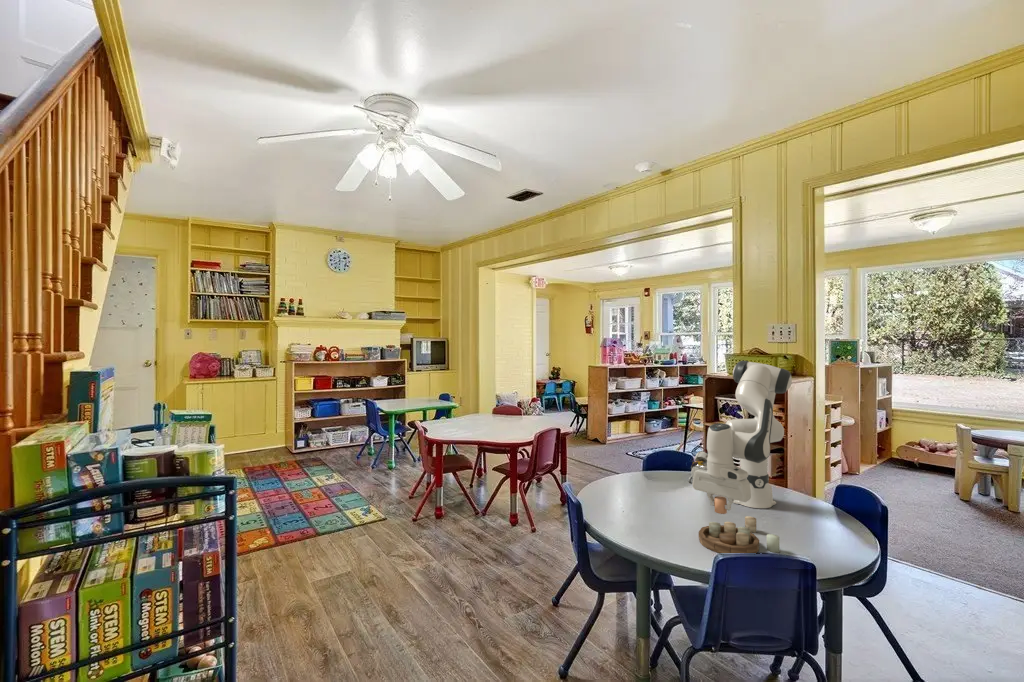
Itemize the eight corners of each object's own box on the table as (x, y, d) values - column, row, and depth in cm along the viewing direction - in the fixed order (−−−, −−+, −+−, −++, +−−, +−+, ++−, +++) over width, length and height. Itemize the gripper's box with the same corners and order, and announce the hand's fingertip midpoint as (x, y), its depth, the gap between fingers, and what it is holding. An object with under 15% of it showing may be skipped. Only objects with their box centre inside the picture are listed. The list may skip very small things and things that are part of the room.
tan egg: (743, 528, 185) (743, 516, 185) (753, 529, 184) (753, 516, 184) (747, 532, 181) (747, 520, 181) (758, 533, 180) (758, 520, 180)
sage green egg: (764, 547, 168) (764, 533, 168) (776, 548, 167) (776, 534, 167) (769, 552, 164) (769, 538, 164) (781, 553, 163) (781, 539, 163)
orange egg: (712, 511, 168) (712, 497, 168) (718, 509, 170) (717, 495, 170) (723, 514, 164) (723, 500, 164) (728, 512, 167) (728, 498, 167)
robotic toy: (718, 479, 250) (718, 451, 250) (706, 487, 237) (706, 457, 238) (695, 474, 259) (694, 448, 259) (682, 481, 246) (681, 453, 246)
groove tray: (692, 531, 182) (692, 517, 182) (745, 533, 180) (745, 519, 180) (708, 555, 162) (708, 539, 162) (768, 557, 160) (768, 541, 160)
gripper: (688, 465, 173) (689, 501, 173) (744, 477, 157) (745, 517, 157) (697, 462, 177) (698, 498, 177) (752, 473, 161) (753, 513, 161)
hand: (720, 507), depth 167 cm, fingers closed on orange egg, 4 cm apart
